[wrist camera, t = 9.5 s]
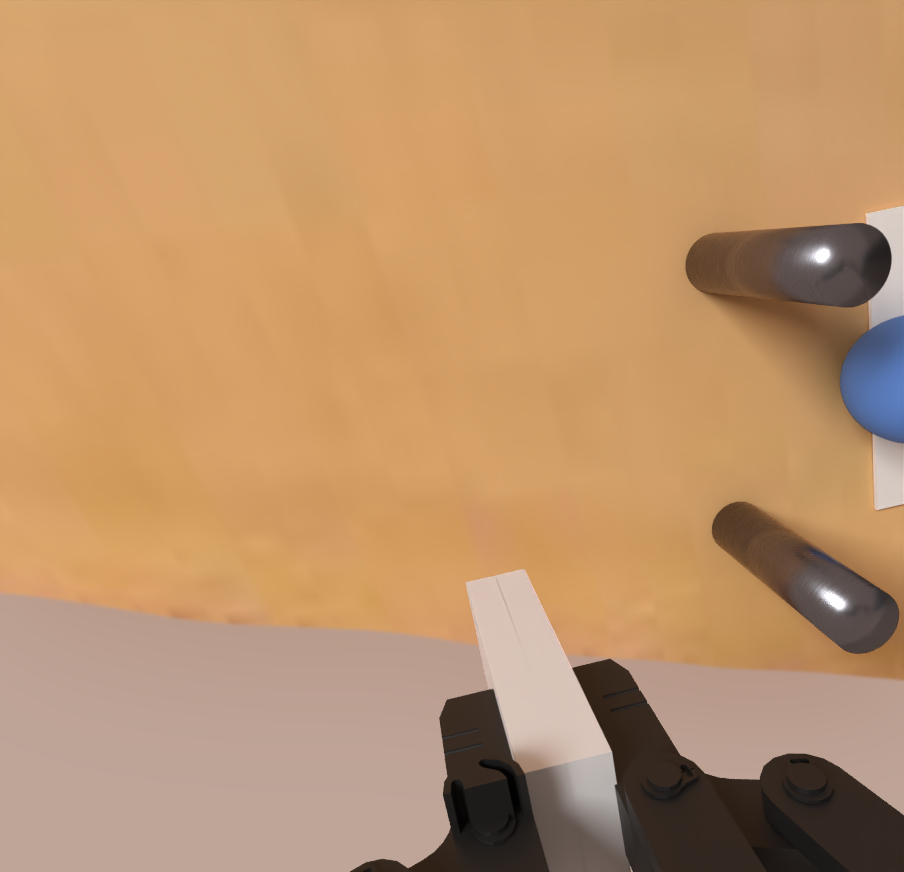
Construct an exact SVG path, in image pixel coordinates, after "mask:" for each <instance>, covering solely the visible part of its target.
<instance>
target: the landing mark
mask: <svg viewBox="0 0 904 872" xmlns="http://www.w3.org/2000/svg"><path fill="white" fill-rule="evenodd" d="M866 224H868V225H871V226H873V227H875V228H877V229H878V230H880V231H881V232H882V233H883V234H884V236H885V237H886V239H887V241H888V242H889V245H890V249H891V254H892V264H891V269H890V273H889V276H888V278H887V280H886V282H885V284H884V286H883V287H882V289H881V290H880V291H879V292H878V293H877V294H876V295H875V296H874V297H873V298H872V299H870V300H869V301H868V306H869V330H870V329H872V328H873V327H875V326H877V325H878V324H880V323H882V322H884V321H887V320H889V319H892V318H895V317H899V316H903V315H904V206H900V207H895V208H890V209H885V210H880V211H876V212H871V213H866ZM872 439H873V472H874V506H875V509H876V510H880V509H884V508H889V507H893V506H897V505H901V504H904V443H897V442H893V441H889V440H886V439H883V438H881V437H878V436H876V435H874V434H872Z"/></svg>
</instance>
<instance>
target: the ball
mask: <svg viewBox="0 0 904 872" xmlns="http://www.w3.org/2000/svg"><path fill="white" fill-rule="evenodd" d="M840 389H841V394H842V398H843V401H844V404H845V406H846V408H847V409H848V411H849V412H850V414H851V415H852V417H853V418H854V419H855V420H856V421H857V422H858V423H859V424H860V425H861V426H862V427H863V428H865V429H866V430H868V431H869V432H871V433H872V434H874V435H876V436H878V437H881V438H883V439H886V440H889V441H893V442H897V443H904V315H903V316H899V317H895V318H892V319H889V320H887V321H884V322H882V323H880V324H878V325H877V326H875V327H873V328H872V329H870V330H869V331H867V332H866V333H865V334H863V335H862V336H861V337H860V338H859V339H858V340H857V341H856V342H855V344H854V345H853V346H852V348H851V349H850V351H849V352H848V354H847V356H846V358H845V360H844V363H843V365H842V369H841V375H840Z"/></svg>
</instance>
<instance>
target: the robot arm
mask: <svg viewBox="0 0 904 872" xmlns="http://www.w3.org/2000/svg"><path fill="white" fill-rule="evenodd" d="M466 586H467V591H468V596H469V600H470V605H471V610H472V615H473V619H474V624H475V629H476V634H477V638H478V643H479V648H480V652H481V657H482V662H483V666H484V672H485V676H486V680H487V684H488V688H489V690H486V691H481V692H477V693H474V694H469V695H465V696H461V697H457V698H453V699H448V700H447V701H446V703H445V706H444V708H443V711H442V713H441V716H440V718H439V719H440V726H441V733H442V739H443V747H444V754H445V762H446V769H447V775H448V777H447V779H446V780H445V782H444V790H443V797H444V801H445V805H446V809H447V813H448V818H449V821H450V826H451V828H450V831H449V834H448V835H447V837H446V839H445V840H444V842H443V843H442V844H441V846H439V848H438V849H437V850H436V851H435V852H434V853H432V854H431V855H429V856H428V857H427V858H425V859H424V860H422V861H420V862H419V863H417V864H415V865H414V866H412V867H410V868H406V867H405V866H403V865H402V864H400V863H399V862H397V861H393V860H386V859H380V860H375V861H370V862H366V863H364V864H362V865H361V866H359V867H357V868H355V869H354V870H352V871H350V872H631V869H630V866H631V868H632V871H633V872H904V815H903V814H901V813H900V812H899V811H897V810H896V809H895V808H893V807H892V806H891V805H889V804H888V803H887V802H885V801H884V800H882V799H881V798H880V797H879V796H877V795H876V794H875V793H873V792H872V791H871V790H869V789H867V787H865V786H864V785H862V784H861V783H860V782H858V781H857V780H856V779H854V778H853V777H852V776H850V775H849V774H848V773H846V772H845V771H844V770H842V769H841V768H840V767H838V766H836V765H834V764H833V763H831V762H829V761H827V760H825V759H823V758H819V757H816V756H812V755H808V754H786V755H782V756H779V757H775V758H773V759H772V760H771V761H769V762H768V763H767V764H766V765H765V766H764V767H763V770H762V773H761V776H760V780H748V779H746V780H745V779H726V778H718V777H715V776H712V775H708V774H705V773H704V772H703V771H702V770H701V769H700V768H699V767H698V766H697V765H696V764H695V763H694V762H692V761H690V760H688V759H686V758H685V757H683V756H681V755H680V754H679V753H678V751H677V749H676V748H675V746H674V745H673V743H672V741H671V740H670V738H669V736H668V735H667V733H666V731H665V730H664V728H663V727H662V725H661V723H660V722H659V720H658V718H657V717H656V715H655V713H654V712H653V710H652V709H651V707H650V705H649V704H647V700H646V699H645V697H644V696H643V694H642V692H641V691H639V688H638V686H637V684H636V683H635V681H634V679H633V678H632V676H631V674H630V673H629V671H628V670H626V669H625V668H623V667H622V666H620V665H619V664H617V663H616V662H614V661H613V660H611V659H607V660H603V661H599V662H595V663H591V664H586V665H582V666H578V667H574V668H571V665H570V663H569V661H568V659H567V657H566V655H565V653H564V651H563V649H562V646H561V644H560V642H559V640H558V638H557V636H556V634H555V632H554V630H553V628H552V626H551V624H550V621H549V619H548V617H547V615H546V613H545V611H544V609H543V607H542V605H541V603H540V601H539V599H538V596H537V594H536V592H535V590H534V588H533V586H532V584H531V582H530V580H529V578H528V576H527V574H526V571H525V569H521V570H517V571H513V572H508V573H504V574H500V575H496V576H491V577H487V578H483V579H478V580H474V581H470V582H466Z"/></svg>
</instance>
